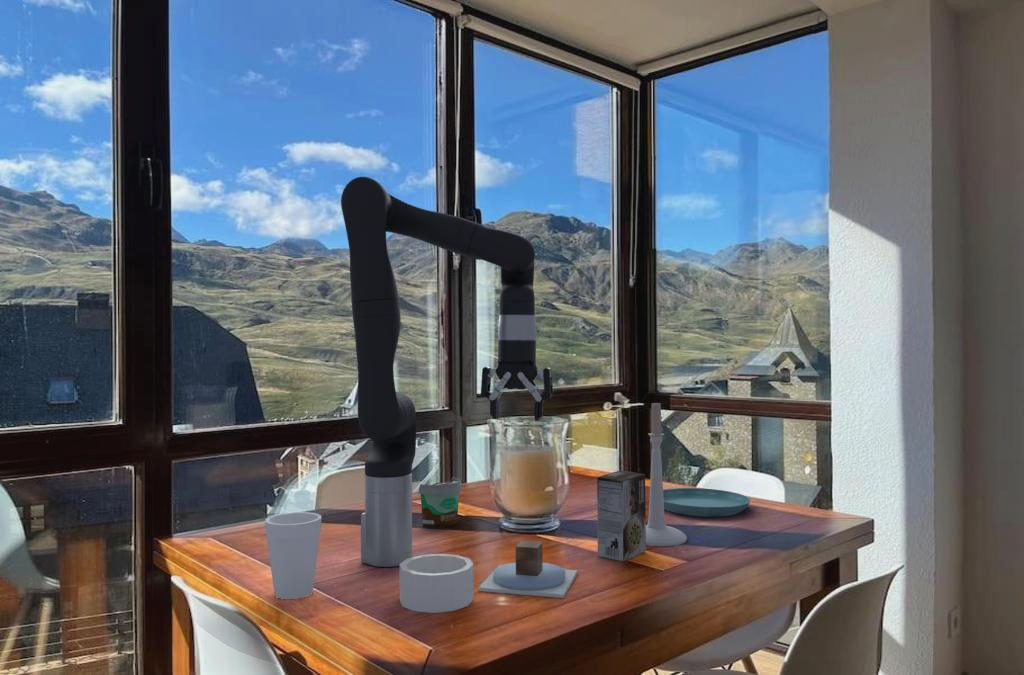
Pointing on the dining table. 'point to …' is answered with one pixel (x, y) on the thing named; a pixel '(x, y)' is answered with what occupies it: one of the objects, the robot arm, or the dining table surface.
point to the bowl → (436, 583)
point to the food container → (440, 503)
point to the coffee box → (621, 515)
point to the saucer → (704, 502)
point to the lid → (529, 570)
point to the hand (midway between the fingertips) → (516, 419)
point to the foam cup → (293, 552)
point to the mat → (552, 592)
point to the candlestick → (659, 493)
